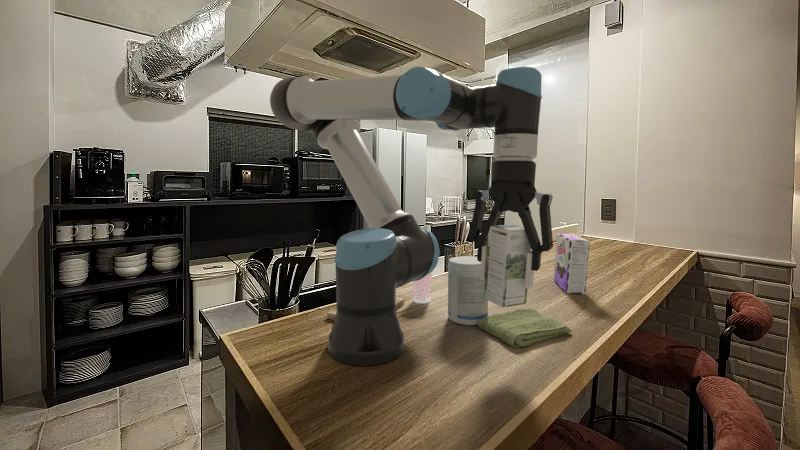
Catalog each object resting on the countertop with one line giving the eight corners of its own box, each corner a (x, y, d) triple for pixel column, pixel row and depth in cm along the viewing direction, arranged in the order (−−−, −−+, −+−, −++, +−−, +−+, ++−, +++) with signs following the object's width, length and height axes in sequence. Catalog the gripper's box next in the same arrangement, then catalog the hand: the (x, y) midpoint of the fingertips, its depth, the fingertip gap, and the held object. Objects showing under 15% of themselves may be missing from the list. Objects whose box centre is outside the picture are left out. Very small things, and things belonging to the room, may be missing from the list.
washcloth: (574, 335, 81) (575, 321, 81) (515, 352, 73) (516, 337, 73) (528, 316, 93) (529, 303, 92) (473, 328, 85) (474, 315, 84)
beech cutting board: (369, 327, 84) (369, 321, 83) (327, 318, 89) (327, 312, 89) (404, 304, 100) (404, 298, 99) (366, 297, 105) (366, 292, 105)
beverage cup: (413, 296, 106) (414, 248, 104) (434, 298, 105) (435, 249, 103) (408, 303, 100) (409, 252, 99) (430, 305, 99) (431, 254, 97)
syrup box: (506, 295, 74) (511, 223, 72) (527, 305, 68) (533, 227, 66) (483, 298, 71) (487, 224, 69) (502, 308, 66) (508, 229, 64)
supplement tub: (495, 319, 89) (497, 260, 87) (472, 330, 83) (474, 266, 81) (462, 309, 96) (464, 254, 94) (439, 318, 90) (440, 259, 88)
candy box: (553, 281, 123) (556, 232, 121) (571, 282, 122) (574, 233, 120) (565, 293, 109) (569, 239, 107) (586, 294, 109) (590, 240, 107)
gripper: (453, 159, 69) (448, 277, 72) (572, 159, 57) (559, 299, 60) (469, 160, 75) (464, 269, 78) (580, 161, 63) (568, 288, 67)
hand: (506, 282), depth 69 cm, fingers closed on syrup box, 8 cm apart
